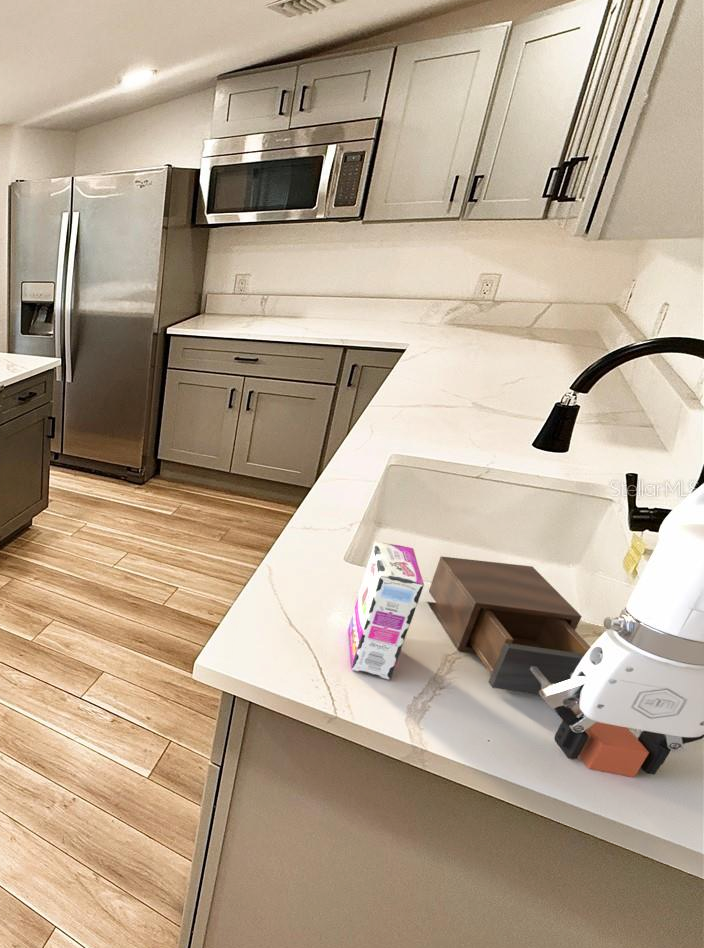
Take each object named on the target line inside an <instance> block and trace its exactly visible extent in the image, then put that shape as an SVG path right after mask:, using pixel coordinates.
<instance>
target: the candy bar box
mask: <svg viewBox="0 0 704 948" xmlns="http://www.w3.org/2000/svg"><path fill="white" fill-rule="evenodd" d="M424 586H425V583H424V579H423V577H422V574H421V571H420V566H419V564H418V559H417V556H416V553H415V550H414V548H413V547H410V546H404V545H399V544H394V543H393V544H392V543H385V542H380V541H374V542H373V546H372V549H371V551H370V556H369V559H368V563H367V565H366V568H365V572H364V575H363V579H362V582H361V585H360V589H359V592H358V595H357V598H356V602H355V605H354V609H353V611H352V615H351V619H350V622H349V626H348V629H347V633H348V644H349V645H348V646H349V658H350V669H351V671H352V672H356V673H360V674H363V675H367V676H371V677H376V678H378V679H382V680H387V681H391V680H392V676H393V674H394V671H395V668H396V665H397V662H398V659H399V657H400V653H401V651H402V648H403V646H404V642H405V639H406V637H407V634H408V631H409V629H410V626H411V623H412V621H413V618H414V614H415V612H416V608H417V605H418V603H419V600H420V598H421V594H422V592H423V589H424Z"/></svg>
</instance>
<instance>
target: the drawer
mask: <svg viewBox="0 0 704 948" xmlns="http://www.w3.org/2000/svg"><path fill="white" fill-rule="evenodd" d="M468 641H469V643H470V644H471V646H472V647H473V649H474V650H475V652H476V653H475V654H476V655H477V657H478V658H479V659H480V661H481V662H482V664H483V665H484V667H485V668H486V669H487V671H488V673H489V674H490V677H489V680H488V684H489V685H490V687H491V688H492V689H497V690H503V691H510V692H515V693H521V694H526V695H527V694H528V695H533V696H540V697H542V696H541V695H540V694H539V691H540V690H541V689H544V688H547V687H550V686H553V685H555V684H558V683H561V682H564V681H567V680H570V678H571V676H572V674H573V673H574V671H575V669H576V667H577V666H578V664H579V663H580V661H581V659H582V658H583V657H584V655H585V654H586V652H587V651H588V650H589V649H590V647H591V646H590V644H589V643H588V642H587V641H585V639H584V638H583V637H582V636H581V635H580V634H579V633H578V632H577V631H576V630H574V629H573V628H572V627H571V626H570V625H569V624H568V623H567V621H566V620H565V619H561V618H553V617H546V616H538V615H531V614H523V613H515V612H508V611H500V610H492V609H485V608H481V609H480V611H479V614H478V616H477V619H476V622H475V624H474V627H473V629H472V632H471V634H470V637H469V640H468ZM575 699H576V698H575V697H571V698H568V699H565V700H564V701H569V702H572V701H574V700H575Z"/></svg>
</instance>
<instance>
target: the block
mask: <svg viewBox="0 0 704 948" xmlns="http://www.w3.org/2000/svg"><path fill="white" fill-rule="evenodd" d="M585 732H586V733H587V734H588V740H587V742H586V743H585V745H584V747H583V749H582V751H581V753H580V755H579V758H580V759H581V761H582V762H583V763H584V764H585V767H587V768H588V769H589V770H593V771H599V772H604V773H609V774H613V775H619V776H625V777H630V778H635V777H636V776H637V774H638V773H639V772H640V769H641V765H642V764H643V762H644V760H645V759H646V757H647V755H648V754H649V752H648V751H647V749H646V748H645V747H644V746H643V745H642V744H641V743H640V741H639V740H638V737H636V735H635V734H634V733H633V732H632V731H631V730H630V728H626V727H620V726H615V725H610V724H604V723H600V722H597V723H596V724H594V725H593V726H591V727H590V728H588V729H587V730H585Z"/></svg>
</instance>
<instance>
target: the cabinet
mask: <svg viewBox="0 0 704 948" xmlns="http://www.w3.org/2000/svg"><path fill="white" fill-rule="evenodd" d="M428 593H429V594H430V596H431V597H432V598H433V600H434V602H433V601H426V603H427V605H428V606H429V608H430V610H431V611H432V613H433V614H434V615H435V617H436V619H437V620H438V622H439V623H440V625H441V626H442V629H444V631H445V633H446V634H447V636H448V637H449V639H450V640H451V642H452V645H454V647H455V649H456V650H457V651H460V652H461V651H462V652H467V653H474V654H477V653H476V652H475V650H474V649H473V647H472V646H471V644H470V643H469V641H468V640H469V637H470V634H471V632H472V629H473V627H474V624H475V622H476V619H477V616H478V614H479V611H480V609H481V608H485V609H492V610H500V611H508V612H515V613H523V614H531V615H538V616H546V617H553V618H561V619H565V620H566V621H567V623H568V624H569V625H570V626H571V627H572V628H573V629H574V630H575V631H576V630H577V628H578V625H579V623H580V621H581V619H582V617H583V616H582V615H581V614H580V612H578V610H576V609H575V607H573V606H572V605H571V604H570V603H569V602H568V601H567V600H566V598H564V597H563V596H562V595H561V593H559V592H558V590H556V589H555V587H554V586H552V585H551V584H550V582H548V581H547V579H545V578H544V576H542V574H541V573H540V572H539V571H538V570H536V568H535V567H534V566H533V565H525V564H524V565H523V564H514V563H507V562H506V563H505V562H496V561H485V560H477V559H469V558H459V557H451V556H439V560H438V563H437V566H436V569H435V572H434V575H433V577H432V581H431V583H430V586H429V588H428Z"/></svg>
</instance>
